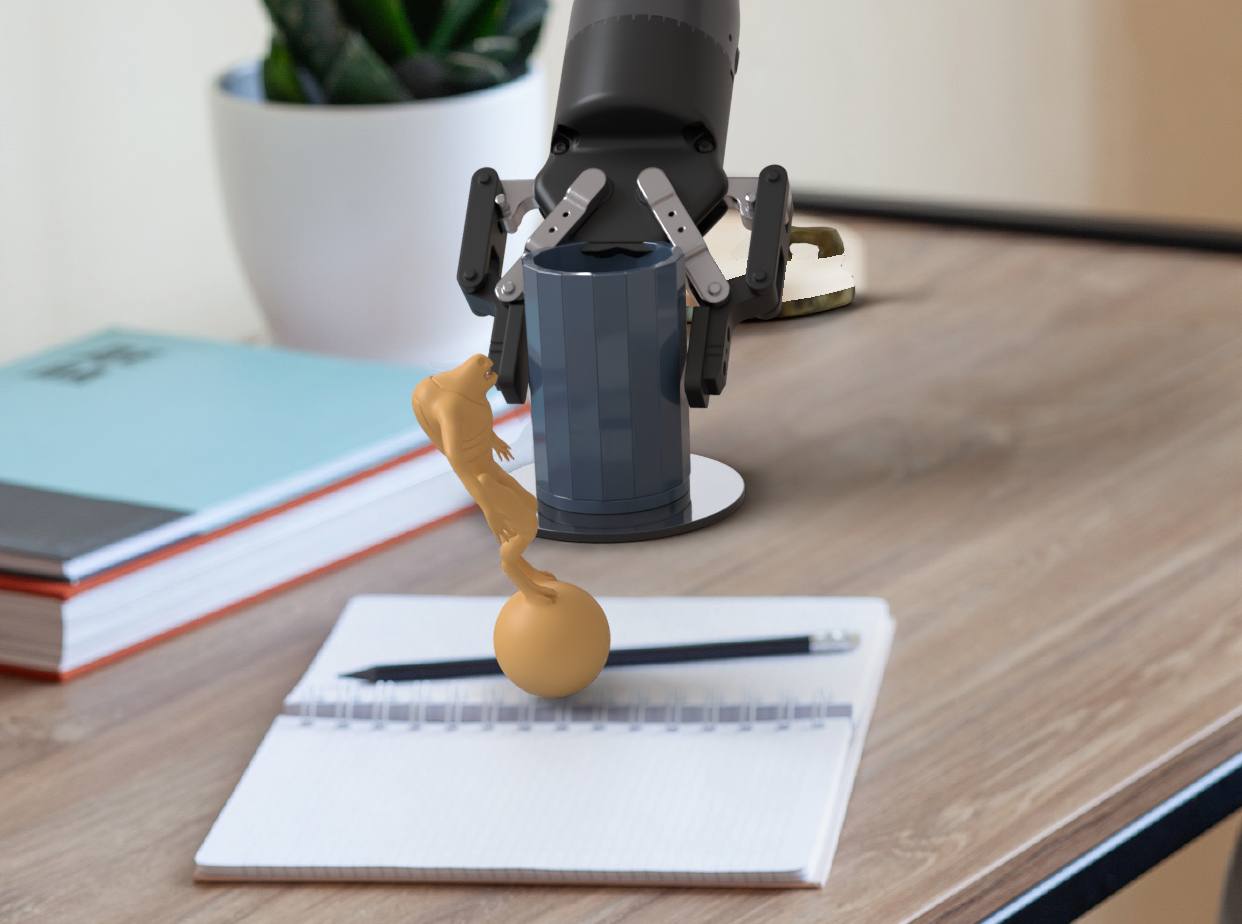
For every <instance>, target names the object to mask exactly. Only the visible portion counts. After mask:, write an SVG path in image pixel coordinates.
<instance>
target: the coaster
mask: <svg viewBox="0 0 1242 924" xmlns="http://www.w3.org/2000/svg"><path fill="white" fill-rule="evenodd" d="M690 460H691V474H690V488H689V490H688V492H687V493H686V494H685V495H684V496H682V497H681V498H680V499H678V500H676V501H674V502H672V503H669V504H667V505H664V506H661V507H657V508H653V509H649V510H644V511H639V512H632V513H623V514H584V513H575V512H569V511H564V510H560V509H557V508H554V507H551V506H549V505H547V504H545V503H543V502H542V501H541V500H540V499H539V498H538V497H537V494H536V485H535V476H534V462H532V463H529V464H526V465H524V466H521V467H519V468H517V469H515V470H512V471H510V472H507V473H508V474H509V475H510V476H512V477H513V478H514V479H516V480H517V482H518V483H519V484H520V485H521V486H522V487H523V488H524V489H526V490H527V491H528V492H530V493H531V494H533V495H534V496H535V497H536V499H537V502H538V509H537V514H536V516H537V518H538V531H537V534H536V536H535V537H539V538H544V539H549V540H557V541H565V542H577V543H623V542H625V543H627V542H635V541H637V542H638V541H646V540H652V539H653V540H654V539H661V538H667V537H670V536H677V535H680V534H684V533H688V532H692V531H695V530H699V529H703V528H705V527H708V526H710V525H713V524H714V523H715V524H716V523H718V522H719V521H721V520H723V519H724V518H726V517H729V516H730V515H731V514H732V513H734V512H736V510H737V509H738V508H739V507H741V505H742V503H743V502H744V500H745V495H746V485H745V480H744V478H743V477H742V475H741V474H740V473H739V472H738V471H737V470H735V468H733V467H731V466H729V465H728V464H725V463H723V462H721V461H719V460H716V459H714V458H713V459H712V458H709V457H706V456H702V455H698V454H694V453H690Z"/></svg>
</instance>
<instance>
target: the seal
mask: <svg viewBox="0 0 1242 924" xmlns="http://www.w3.org/2000/svg"><path fill="white" fill-rule="evenodd" d="M793 244H808V245H810V246H811V245H812V246H816V247H817V248H818V250H819V251H817V253H818V259H819V258H827V257H832V256H836V255H842V254H843V253H844V251H845V252H846V250H845V245H844V241H843V239H842V236H841V235H840V233H839V231H838V230H837V228H834V227H831V226H796V225H791V233H790V241H789V249H788V257H787V261H791V259H792V255H794V254H793V253H792V251H791V246H792V245H793ZM855 295H856V285H855V286H854V287H851V288H848V289H844V290H841V291H837V292H833V293H829V294H825V295H820V296H815V297H811V298H804V299H798V300H791V301H786V302H782V304H781V310H780V312H779V313H778V314H777V315H776V316H775V317H773V318H772V319H774V318H787V317H788V318H789V317H797V316H798V317H799V316H805V315H810V314H813V313H818V312H823V311H827V310H832V309H835V308H839V307H842V306H845V305H848V304H849V303H851V302H852V301H854V300H855ZM692 313H693V306H686V320H687V323H691V321H692ZM747 320H761V319H760V318H758V317H756V316H755V317H752V318H748V319H747Z"/></svg>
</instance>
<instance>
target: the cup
mask: <svg viewBox="0 0 1242 924" xmlns="http://www.w3.org/2000/svg"><path fill="white" fill-rule="evenodd" d="M586 244H589V243H588V242H580V241H571V242H566V243H563V244H560V245H557V246H554V247H543V248H540V249H537V250H534V251H531V252H530V253H529V254H527V255H526V256H524V257H523V258H522V259H521V265H522V282H523V298H524V314H525V330H526V347H527V363H528V379H529V384H528V392H529V393H528V394H529V395H528V396H529V410H530V427H531V442H532V458H533V459H532V461H533V463H534V476H535V485H536V494H537V497H538V498H539V499H540V500H541V501H542V502H543V503H545V504H547V505H549V506H551V507H554V508H557V509H560V510H564V511H569V512H575V513H584V514H623V513H632V512H639V511H644V510H649V509H653V508H657V507H661V506H664V505H667V504H669V503H672V502H674V501H676V500H678V499H680V498H681V497H682V496H684V495H685V494H686V493H687V492H688V490H689V488H690V474H691V460H690V454H691V429H690V428H691V427H690V407H689V403H688V400H687V397H686V394H685V390H684V376H685V368H686V360H687V352H688V331H687V330H688V327H687V326H688V324H687V323H688V322H687V320H686V285H685V255H684V253H683V251H682V249H681V247H679V246H673V245H672V244H670V243H668V242H664V241H652V242H643V244H644V245H645V246H647V247H648V248H650V249H651V250H653V252H651V253H648V254H646V255H644V256H642V257H640V256H639V258H633V257H630V256H627V255H624V254H617V255H615V256H613V257H611V258H604V259H600V256H599V258H596V257H595V256H594V255H590V256H587V255H586V254H585V255H584V254H582V252H581V249H582V247H583V246H584V245H586ZM639 254H640V253H639Z"/></svg>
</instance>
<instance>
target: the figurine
mask: <svg viewBox="0 0 1242 924" xmlns="http://www.w3.org/2000/svg"><path fill="white" fill-rule="evenodd" d="M492 365H493V362H492V361H491V360H490V359H489V358H488V355H485V354H483V353H475V354H473V355H472V356H470V357H469V358H468V359H466V360H465V361H464V362H463V363H462V364H461V365H459V366H457V367H455V368H454V369H451V370H448V371H444V372H440V373H435V374H433V375H429V376H427V377H425V378H423V379H422V380H421V381H419V382H418V384H416V386H415V387H414V389H413V392H412V394H411V406H412V412H413V414H414V416H415V418H416V421H417V423H418V424H419V426H420V428H421V430H422V431H423V432H424V433H425V435H426V437H428V439H429V440H430V441H431V443H432V444H433V445H434V446H435V448H436V449H437V450H438V451H439V452H440V453H442V455H443V456H444V457H445V458H446V460H447V461H448V463H449V465H450V467H451V469H452V471H453V473H455V474H456V476H457V477H458V479H459V480H460V482H461V483H462V485H463V487H464V488H465V489H466V491H467V492H468V494H469V495H470V496H471V498H472V499H473V501H475V503H476V504H477V506H479V508H480V509H481V511H482V512H483V514H484V516H485V519H486V521H487V522H486V523H487V524H488V526H489V529H490V530H491V531H492V532H493V535H494V537H495V539H496V540H497V543H498V544H499V545H500V548H499V555H500V558H501V562H500V563H501V568H502V570H503V572H504V573H505V575H506V576H507V577H508V578H509V579H510V580H511V582H512V583H513V584H514V585H515V586H516V587H517V589H518V590H517V592H515V593H513V595H512V596H510V598H508V600H507V601H506V602H505V603H504V605H503V606H502V608H501V609H500V611H499V613H498V615H497V617H496V620H495V623H494V628H493V635H492V639H493V650H494V655H495V658H496V661H497V663H498V666H499V667H500V669H501V671H502V672H503V674H504V675H505V676H506V678H507V679H508V680H509V681H510V682H511V683H512V684H513V685H514V686H516V687H517V688H519V689H520V690H522V691H523V692H525V693H527V694H530V695H532V696H536V697H540V698H547V699H557V698H564V697H568V696H572V695H574V694H577V693H578V692H581V691H583V690H584V689H585V688H587V687H588V686H589V685H590V684H592V683H593V682H594V681H595V680H596V679H597V678H598V676H599V675H600V674H601V672H602V671H603V669H604V667H605V665H606V664H607V661H608V659H609V654H610V651H611V644H612V643H611V640H612V639H611V638H612V637H611V636H612V635H611V628H610V623H609V620H608V618H607V616H606V613H605V611H604V608H602V606H601V604H600V603H599V602H598V601H597V600H596V599H595V597H594V596H592V595H591V594H590V593H589V592H588V591H586V590H585V589H583V588H582V587H580V586H578V585H575V584H573V583H570V582H567V581H562V580H559V579H557V577H556V576H555V574H554V573H552V572H549V571H547V570H539V569H537V568H535V567H534V566H533V565H532V564H531V563H529V561H528V560H526V559H525V558H524V557H523V556H522V555H523V553H524V552H525V551H526V549H527V548H528V546H529V545H530V544H531V543H532V542H533V541H534V539H535V538H536V537H537V536H536V534H537V531H538V518H537V516H536V514H537V509H538V502H537V499H536V497H535V496H534V495H533V494H531V493H530V492H528V491H527V490H526V489H524V488H523V487H522V486H521V485H520V484H519V483H518V482H517V480H516V479H514V478H513V477H512V476H510V475H509V474H508V473H509V472H507V471H505V470H504V468H503V467H502V466H501V465H500V464H498V462H497V461H495V457H494V453H493V452H495V453H496V455H497V457H498V458H499V460H500V461H501V462H503V458H504V459H505V460H506V461H507V462H509V463H510V461H511V460H512V461H514V460H515V457H514V456H513V454H512V453H511V450H512V448H511V446H510V445H509V444H507V442H505V441H504V440H503V439H501V438H500V437H499V436H498V435H497V434H496V432H495V430H494V415H493V409H492V406H491V403H490V401H489V400H488V397H487V393H488V392H489V390H491V389H492V388H493V387H495V384H496V381H497V378H498V375H497V374H496V373H495V372H489V371H491V368H490V367H491V366H492ZM493 450H494V451H493ZM510 458H511V460H510Z"/></svg>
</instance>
